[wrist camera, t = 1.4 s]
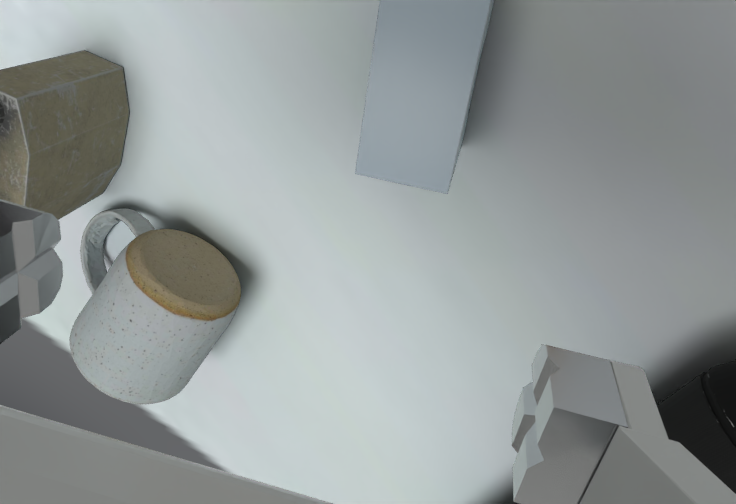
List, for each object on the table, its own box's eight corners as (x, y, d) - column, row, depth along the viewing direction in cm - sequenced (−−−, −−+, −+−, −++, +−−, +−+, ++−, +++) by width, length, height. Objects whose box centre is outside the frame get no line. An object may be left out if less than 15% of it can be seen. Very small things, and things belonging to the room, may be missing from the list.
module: (496, -12, 28) (490, -1, 22) (461, 146, 32) (447, 194, 26) (411, -26, 29) (382, -20, 23) (386, 131, 32) (355, 173, 26)
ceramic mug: (268, 273, 38) (211, 342, 31) (210, 355, 42) (149, 431, 35) (124, 169, 37) (34, 216, 30) (79, 262, 41) (-10, 322, 34)
